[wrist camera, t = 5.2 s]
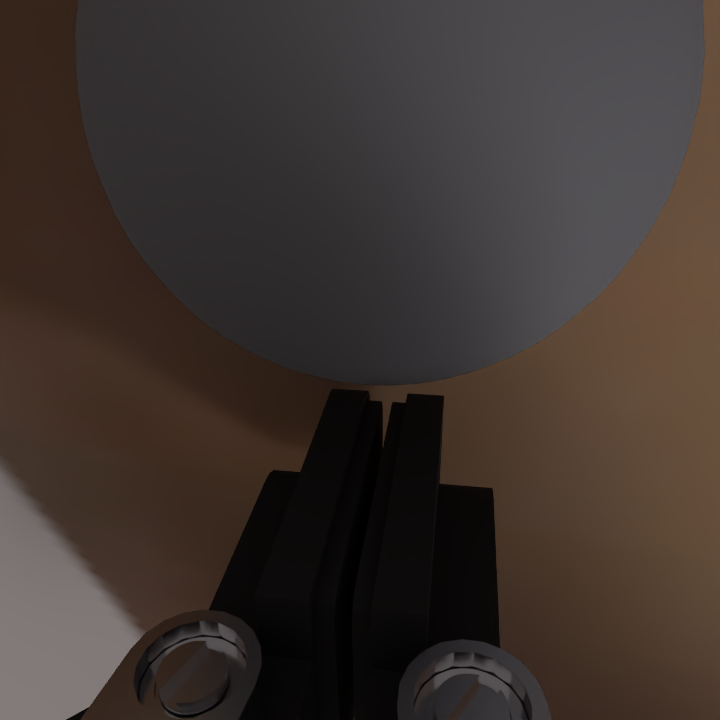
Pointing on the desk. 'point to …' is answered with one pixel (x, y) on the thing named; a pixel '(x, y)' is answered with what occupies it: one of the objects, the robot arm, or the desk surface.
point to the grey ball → (388, 165)
